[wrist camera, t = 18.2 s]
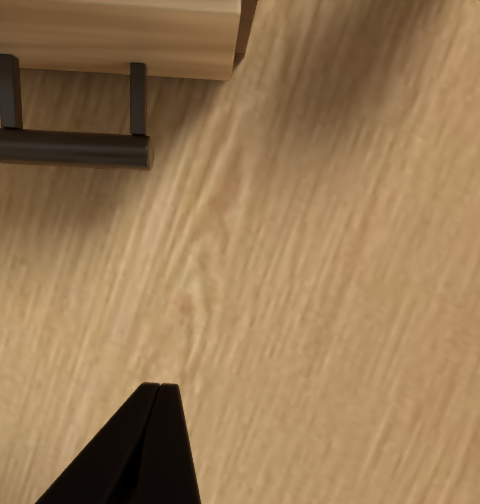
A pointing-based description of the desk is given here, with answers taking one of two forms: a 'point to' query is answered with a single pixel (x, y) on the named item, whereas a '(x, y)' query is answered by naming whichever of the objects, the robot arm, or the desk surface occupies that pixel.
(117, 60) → the drawer
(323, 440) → the desk surface
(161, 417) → the robot arm
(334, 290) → the desk surface
